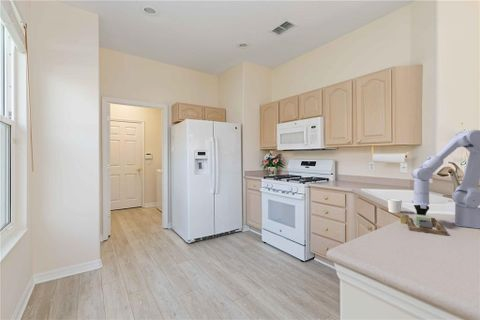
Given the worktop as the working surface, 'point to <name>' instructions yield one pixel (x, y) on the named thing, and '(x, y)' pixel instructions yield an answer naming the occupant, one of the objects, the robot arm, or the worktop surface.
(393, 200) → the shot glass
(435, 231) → the twin wooden rails
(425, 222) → the block
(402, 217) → the tan textured block
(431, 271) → the worktop surface
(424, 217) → the block
